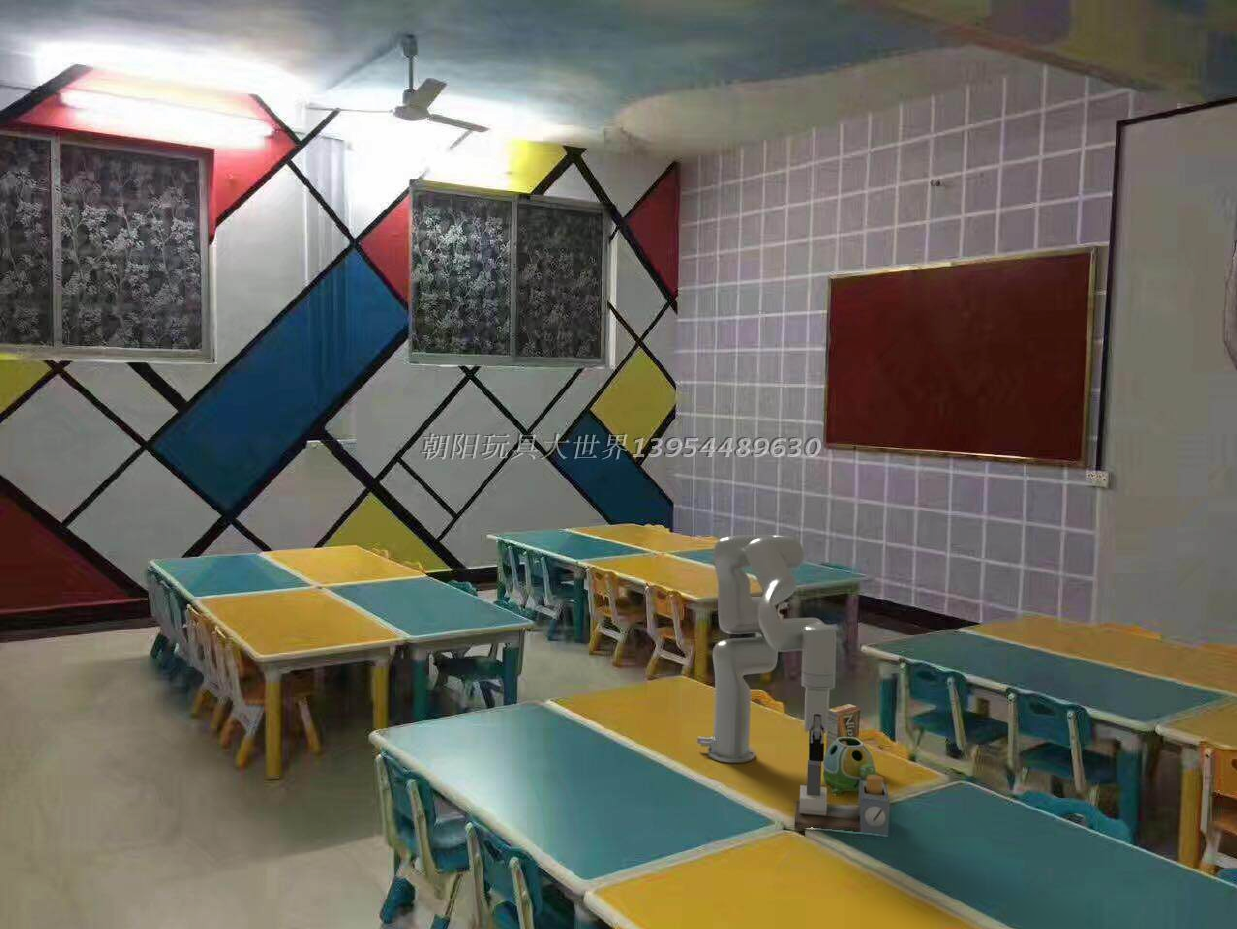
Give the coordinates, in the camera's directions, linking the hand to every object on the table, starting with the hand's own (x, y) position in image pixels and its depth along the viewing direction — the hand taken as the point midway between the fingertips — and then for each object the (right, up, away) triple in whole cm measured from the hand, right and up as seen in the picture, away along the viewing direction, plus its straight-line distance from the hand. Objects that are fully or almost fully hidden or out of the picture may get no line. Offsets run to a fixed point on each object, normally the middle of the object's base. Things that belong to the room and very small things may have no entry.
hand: (816, 753), depth 237 cm
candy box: (+14, -14, +37) cm, 41 cm away
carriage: (-1, -13, +2) cm, 14 cm away
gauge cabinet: (+13, -16, -1) cm, 20 cm away
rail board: (+3, -16, +1) cm, 16 cm away
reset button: (+13, -9, -1) cm, 16 cm away
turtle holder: (+12, -15, +20) cm, 28 cm away
